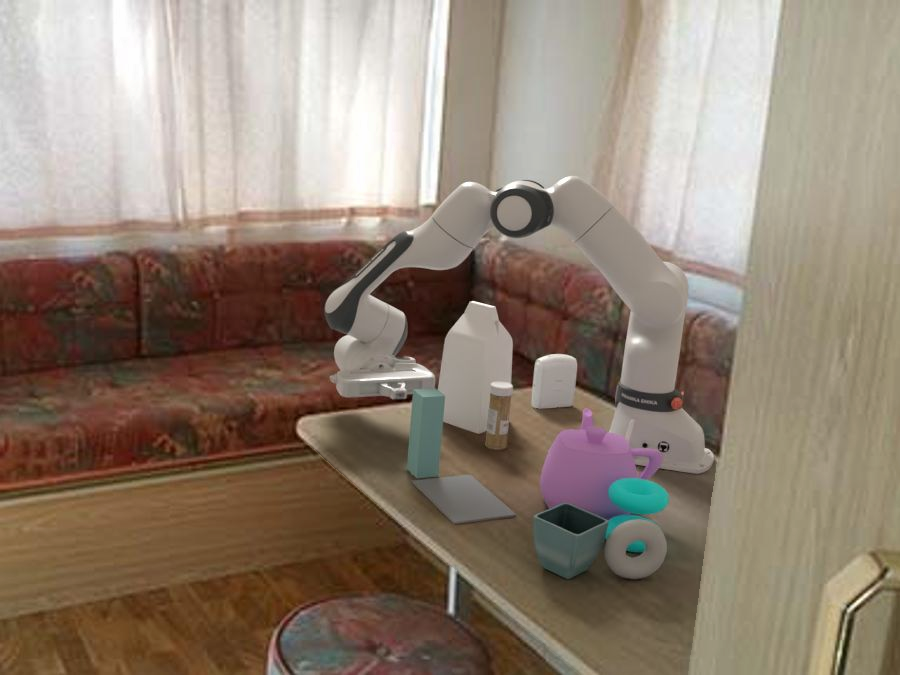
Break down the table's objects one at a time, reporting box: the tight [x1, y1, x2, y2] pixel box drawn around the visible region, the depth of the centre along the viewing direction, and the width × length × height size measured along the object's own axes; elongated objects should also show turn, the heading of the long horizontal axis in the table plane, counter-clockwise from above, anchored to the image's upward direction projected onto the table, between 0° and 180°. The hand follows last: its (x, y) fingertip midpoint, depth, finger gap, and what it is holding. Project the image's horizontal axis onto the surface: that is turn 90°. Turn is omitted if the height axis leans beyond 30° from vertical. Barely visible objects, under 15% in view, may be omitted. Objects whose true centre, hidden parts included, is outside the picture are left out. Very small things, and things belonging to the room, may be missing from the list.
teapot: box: [539, 407, 663, 520], centre depth 193 cm, size 23×21×15 cm
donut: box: [603, 519, 668, 580], centre depth 166 cm, size 10×4×10 cm, turn 98°
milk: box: [437, 300, 514, 435], centre depth 228 cm, size 12×12×26 cm
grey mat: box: [411, 474, 517, 525], centre depth 191 cm, size 18×12×1 cm, turn 25°
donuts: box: [604, 477, 670, 553], centre depth 179 cm, size 10×10×10 cm
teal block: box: [406, 387, 445, 479], centre depth 199 cm, size 4×4×16 cm
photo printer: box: [530, 353, 578, 410], centre depth 244 cm, size 10×4×12 cm, turn 114°
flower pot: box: [533, 503, 609, 580], centre depth 167 cm, size 9×9×9 cm
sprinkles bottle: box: [484, 381, 514, 451], centre depth 216 cm, size 5×5×14 cm
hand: (400, 395), depth 209 cm, fingers closed
